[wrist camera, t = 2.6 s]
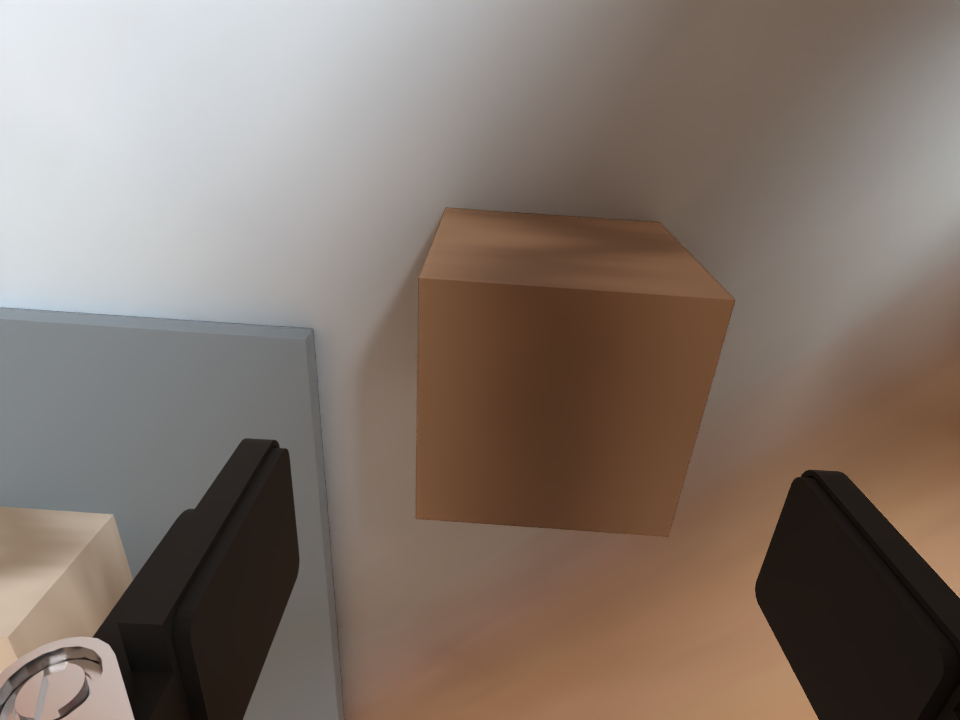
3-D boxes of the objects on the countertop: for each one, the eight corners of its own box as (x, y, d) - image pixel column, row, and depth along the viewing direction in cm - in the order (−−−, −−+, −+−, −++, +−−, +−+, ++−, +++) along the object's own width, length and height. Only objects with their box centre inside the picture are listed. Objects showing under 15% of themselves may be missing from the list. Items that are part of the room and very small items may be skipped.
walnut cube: (659, 221, 16) (735, 300, 11) (621, 403, 19) (668, 537, 14) (446, 207, 16) (419, 278, 11) (439, 390, 19) (415, 518, 14)
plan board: (313, 328, 18) (305, 339, 17) (345, 741, 28) (341, 759, 27) (-391, 281, 18) (-428, 289, 17) (-106, 710, 28) (-122, 727, 27)
